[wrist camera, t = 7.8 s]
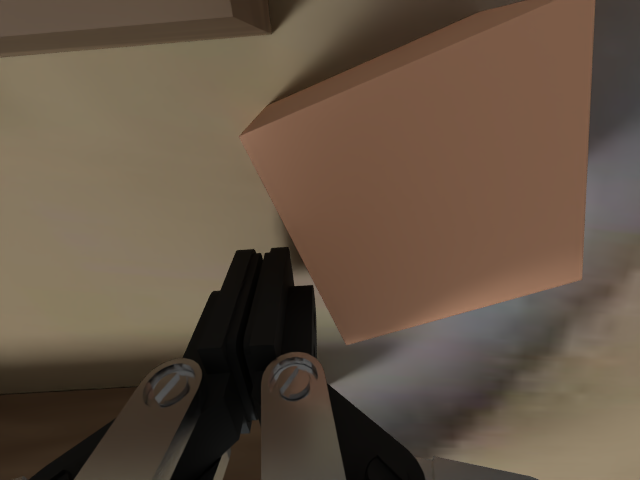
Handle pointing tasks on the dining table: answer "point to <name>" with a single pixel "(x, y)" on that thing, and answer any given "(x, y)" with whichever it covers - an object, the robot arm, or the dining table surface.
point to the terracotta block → (439, 168)
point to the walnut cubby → (86, 34)
